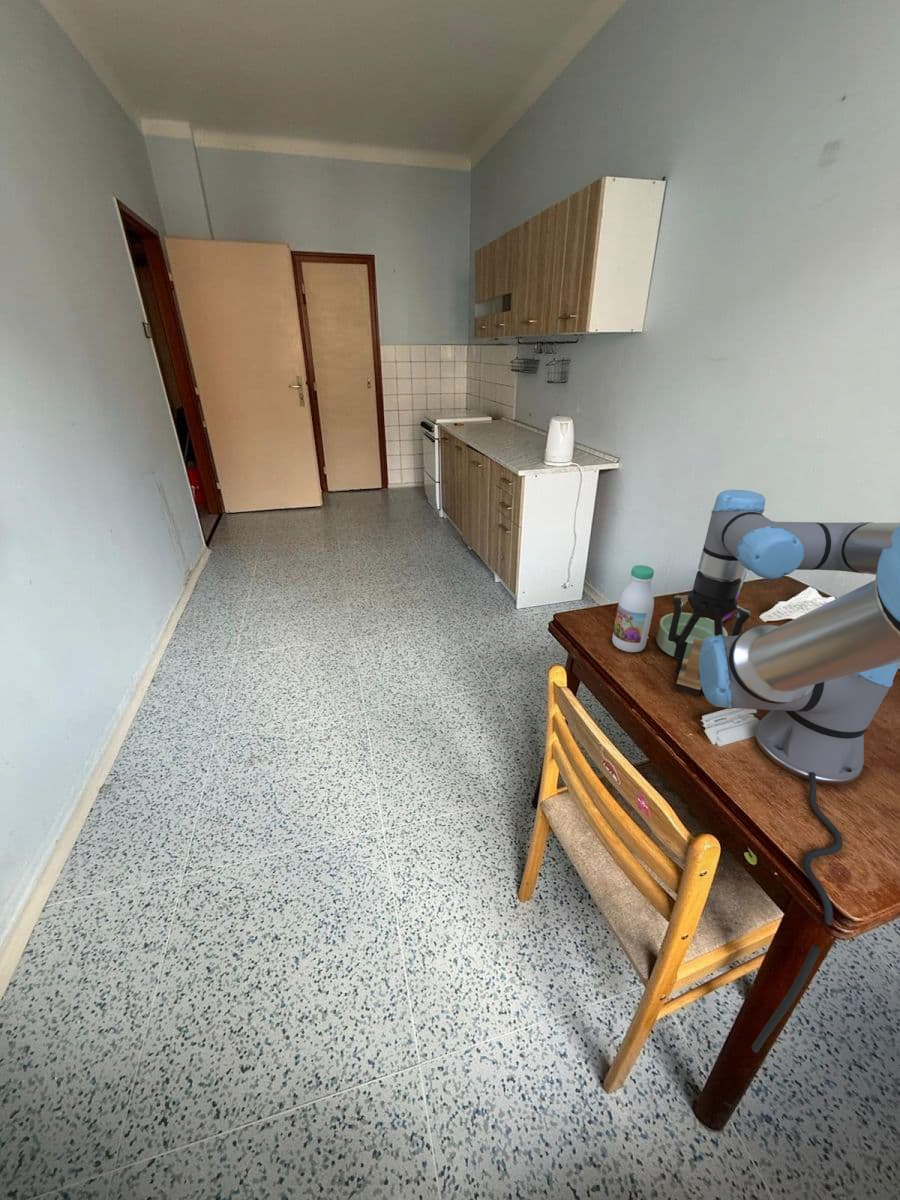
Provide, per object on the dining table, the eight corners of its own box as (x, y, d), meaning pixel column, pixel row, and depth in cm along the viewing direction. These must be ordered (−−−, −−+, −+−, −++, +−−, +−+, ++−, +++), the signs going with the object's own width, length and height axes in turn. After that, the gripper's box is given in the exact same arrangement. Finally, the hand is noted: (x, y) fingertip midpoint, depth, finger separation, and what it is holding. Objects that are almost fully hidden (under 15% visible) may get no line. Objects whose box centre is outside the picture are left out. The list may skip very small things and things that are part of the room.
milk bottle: (625, 632, 118) (639, 559, 109) (652, 646, 112) (669, 570, 103) (604, 641, 115) (617, 566, 105) (631, 657, 109) (646, 579, 99)
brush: (698, 696, 96) (709, 660, 92) (675, 689, 98) (684, 653, 94) (702, 675, 102) (713, 640, 98) (680, 669, 104) (689, 634, 100)
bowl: (718, 672, 103) (725, 651, 101) (650, 653, 110) (655, 633, 107) (723, 641, 114) (729, 621, 111) (661, 626, 120) (665, 607, 118)
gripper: (774, 576, 87) (739, 677, 98) (672, 558, 95) (651, 653, 106) (774, 592, 82) (737, 697, 93) (666, 571, 90) (644, 670, 101)
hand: (691, 673), depth 99 cm, fingers closed on brush, 4 cm apart
